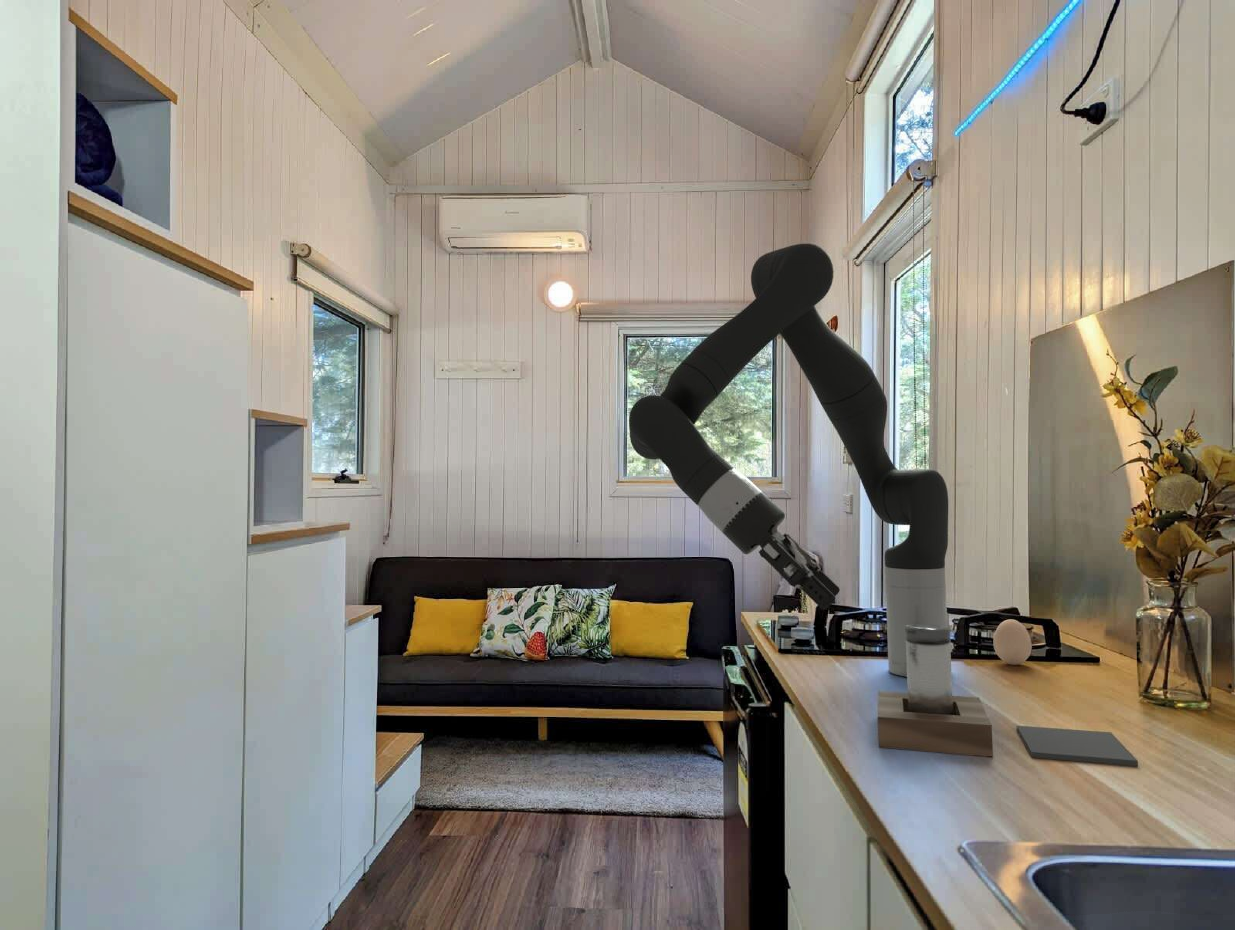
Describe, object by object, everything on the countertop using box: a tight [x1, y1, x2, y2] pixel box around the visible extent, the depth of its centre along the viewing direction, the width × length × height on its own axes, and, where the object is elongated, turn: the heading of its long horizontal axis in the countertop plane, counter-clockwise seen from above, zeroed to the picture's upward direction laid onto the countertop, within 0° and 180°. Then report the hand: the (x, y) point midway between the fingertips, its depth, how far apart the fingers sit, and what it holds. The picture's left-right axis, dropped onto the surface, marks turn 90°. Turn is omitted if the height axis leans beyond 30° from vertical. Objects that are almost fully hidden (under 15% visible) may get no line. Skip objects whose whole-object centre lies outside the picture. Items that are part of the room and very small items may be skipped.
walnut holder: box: [877, 690, 994, 758], centre depth 91 cm, size 12×12×4 cm
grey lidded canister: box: [905, 624, 953, 715], centre depth 91 cm, size 5×5×13 cm
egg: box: [993, 618, 1033, 666], centre depth 127 cm, size 6×6×8 cm
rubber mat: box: [1016, 725, 1139, 767], centre depth 86 cm, size 10×10×1 cm
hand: (833, 599), depth 95 cm, fingers open, 8 cm apart
